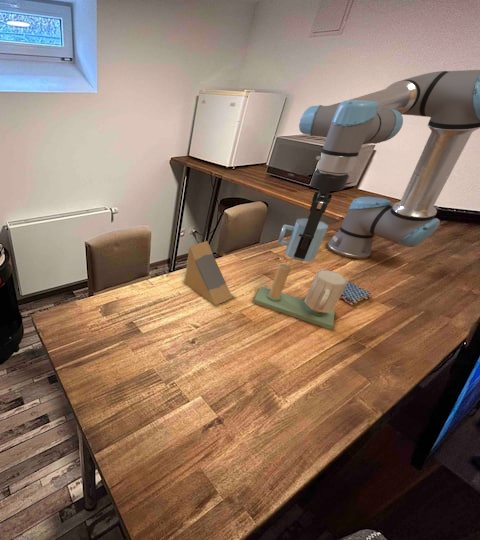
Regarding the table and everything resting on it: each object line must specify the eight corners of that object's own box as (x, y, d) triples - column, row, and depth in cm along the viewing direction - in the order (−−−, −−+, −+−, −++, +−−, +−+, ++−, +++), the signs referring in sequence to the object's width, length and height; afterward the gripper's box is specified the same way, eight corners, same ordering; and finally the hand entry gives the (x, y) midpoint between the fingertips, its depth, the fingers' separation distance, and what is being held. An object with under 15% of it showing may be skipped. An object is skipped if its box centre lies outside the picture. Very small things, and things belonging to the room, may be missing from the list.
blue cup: (277, 244, 91) (287, 214, 86) (315, 253, 86) (328, 222, 81) (273, 253, 86) (283, 222, 80) (313, 264, 81) (327, 231, 76)
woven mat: (320, 288, 102) (322, 283, 101) (340, 281, 106) (343, 277, 105) (350, 306, 94) (353, 301, 93) (371, 298, 98) (374, 293, 97)
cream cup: (301, 311, 85) (314, 283, 80) (305, 293, 93) (317, 267, 87) (331, 321, 82) (347, 293, 76) (333, 302, 89) (347, 275, 84)
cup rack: (259, 289, 102) (270, 256, 94) (332, 313, 91) (351, 277, 84) (253, 302, 95) (264, 268, 88) (331, 329, 85) (351, 293, 78)
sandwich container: (215, 305, 94) (224, 266, 86) (183, 282, 105) (188, 246, 97) (233, 297, 98) (243, 259, 90) (200, 275, 109) (207, 240, 101)
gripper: (318, 162, 81) (291, 235, 94) (310, 178, 67) (280, 262, 79) (350, 165, 78) (318, 241, 90) (349, 183, 64) (312, 271, 76)
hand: (301, 251), depth 85 cm, fingers closed on blue cup, 8 cm apart
